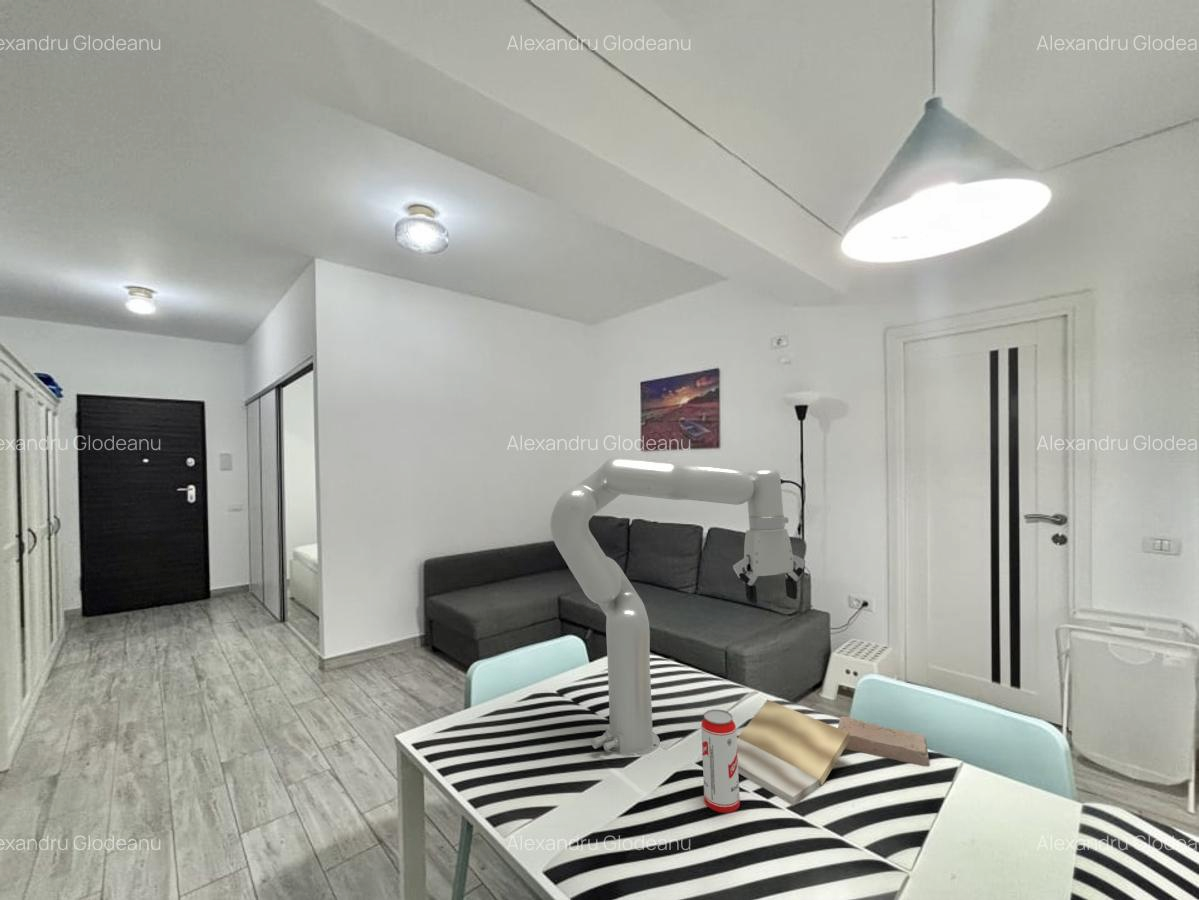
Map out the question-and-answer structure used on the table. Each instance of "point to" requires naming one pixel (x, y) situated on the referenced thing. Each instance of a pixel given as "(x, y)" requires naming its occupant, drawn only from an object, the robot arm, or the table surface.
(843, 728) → the brick
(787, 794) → the board
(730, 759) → the beer can
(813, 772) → the oak plank
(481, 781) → the table surface
